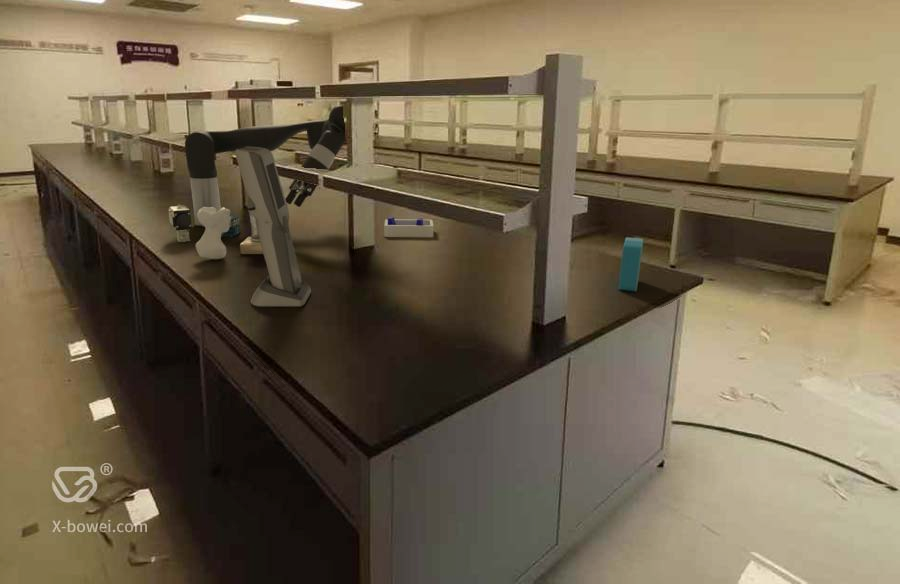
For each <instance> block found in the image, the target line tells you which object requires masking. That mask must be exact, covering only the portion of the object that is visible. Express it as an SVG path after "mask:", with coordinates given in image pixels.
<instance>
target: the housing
mask: <svg viewBox="0 0 900 584" xmlns="http://www.w3.org/2000/svg"><path fill="white" fill-rule="evenodd" d="M249 221H250V230H251V236H250V237H251V241H252V242H260V238H259V234H258V230H257V225H256V219H255V217H254V216H251V215H250V214H249Z"/></svg>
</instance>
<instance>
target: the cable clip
mask: <svg viewBox="0 0 900 584" xmlns="http://www.w3.org/2000/svg"><path fill="white" fill-rule="evenodd" d="M387 219H388V225H396V223H395V220H394V219H395V217H394V216H389V217H387ZM416 220H417V223H416V225H423V220H424V218H417V219H416Z"/></svg>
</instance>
